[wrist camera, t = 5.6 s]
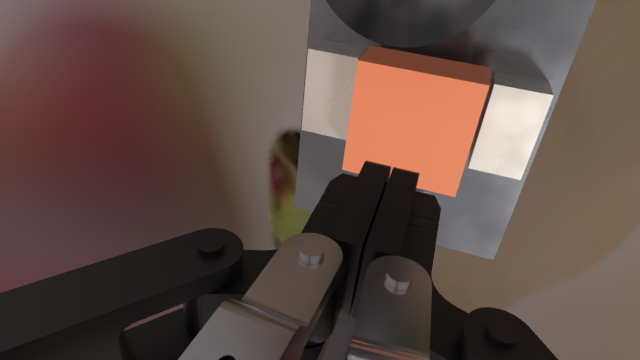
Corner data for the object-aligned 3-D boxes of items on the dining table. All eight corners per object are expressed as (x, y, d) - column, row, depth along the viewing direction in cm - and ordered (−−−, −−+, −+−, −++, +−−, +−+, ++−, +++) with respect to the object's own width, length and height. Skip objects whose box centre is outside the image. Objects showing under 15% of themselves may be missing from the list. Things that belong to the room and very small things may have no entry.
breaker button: (382, 30, 20) (357, 60, 16) (489, 49, 19) (489, 85, 15) (366, 124, 22) (342, 169, 18) (461, 145, 21) (455, 197, 17)
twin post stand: (341, -139, 18) (22, -222, 6) (621, -110, 16) (1067, -143, 4) (308, 196, 26) (152, 451, 14) (488, 242, 24) (487, 588, 12)
